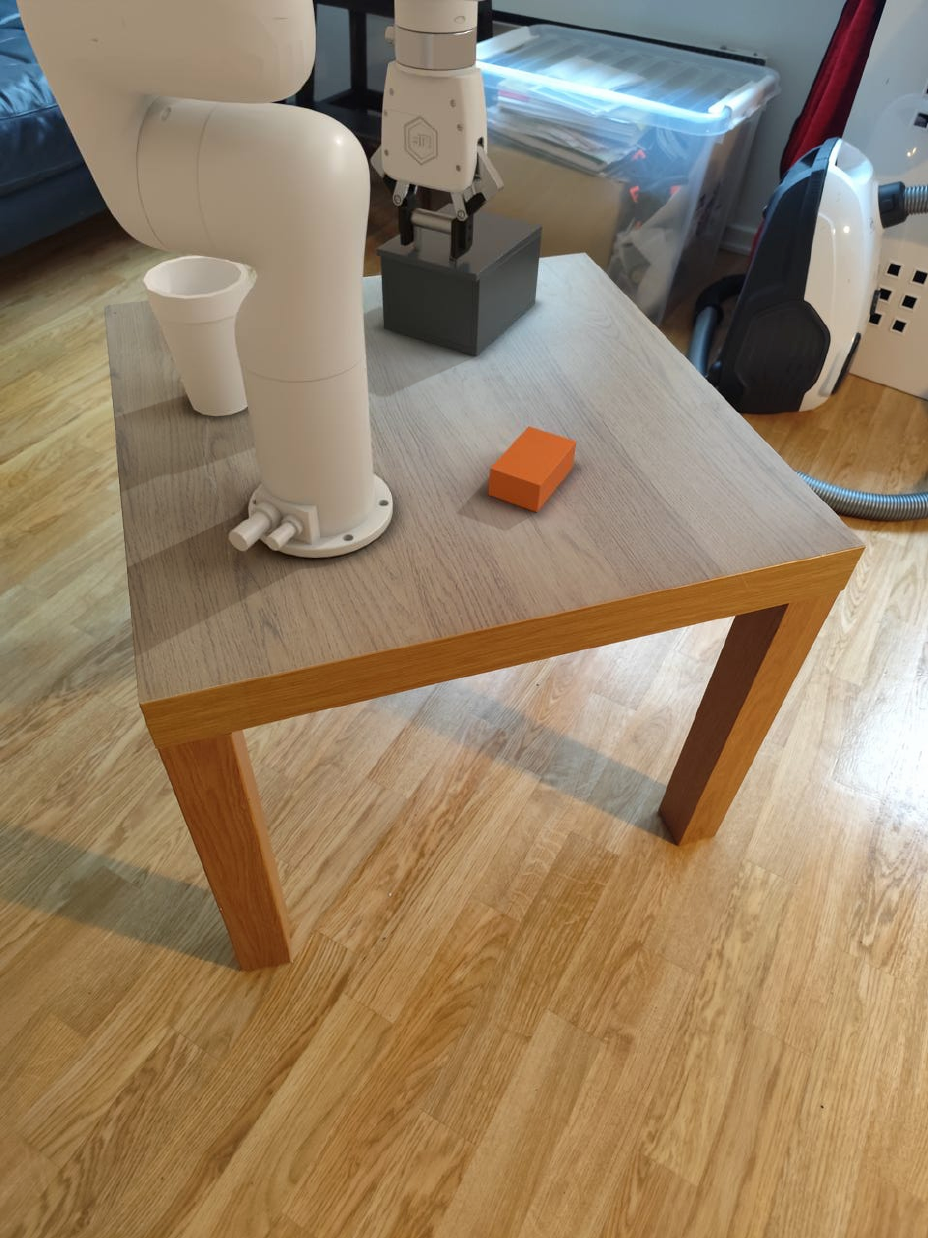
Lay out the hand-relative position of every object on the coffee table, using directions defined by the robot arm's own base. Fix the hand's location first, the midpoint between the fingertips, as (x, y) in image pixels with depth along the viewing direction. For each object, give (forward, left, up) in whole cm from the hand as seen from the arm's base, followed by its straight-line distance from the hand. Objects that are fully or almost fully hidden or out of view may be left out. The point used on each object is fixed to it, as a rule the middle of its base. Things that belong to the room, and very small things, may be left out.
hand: (435, 245), depth 89 cm
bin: (+6, 0, -10) cm, 12 cm away
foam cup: (-24, +12, -11) cm, 29 cm away
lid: (+6, 0, -2) cm, 6 cm away
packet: (-20, -22, -10) cm, 31 cm away
